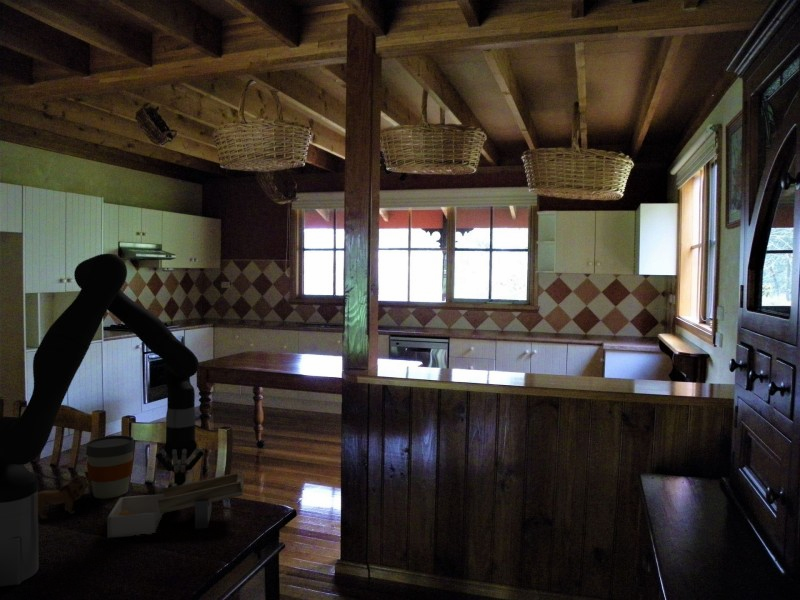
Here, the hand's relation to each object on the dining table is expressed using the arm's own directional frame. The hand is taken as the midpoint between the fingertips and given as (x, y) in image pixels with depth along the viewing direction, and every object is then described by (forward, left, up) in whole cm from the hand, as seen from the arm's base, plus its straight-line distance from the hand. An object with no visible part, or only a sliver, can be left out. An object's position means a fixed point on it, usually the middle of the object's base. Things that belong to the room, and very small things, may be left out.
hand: (180, 484), depth 152 cm
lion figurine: (0, +30, -6) cm, 31 cm away
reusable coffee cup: (+13, +21, -6) cm, 25 cm away
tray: (-11, +9, -6) cm, 15 cm away
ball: (-11, +12, -3) cm, 16 cm away
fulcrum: (-11, -7, -6) cm, 14 cm away
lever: (-7, -7, 0) cm, 10 cm away
